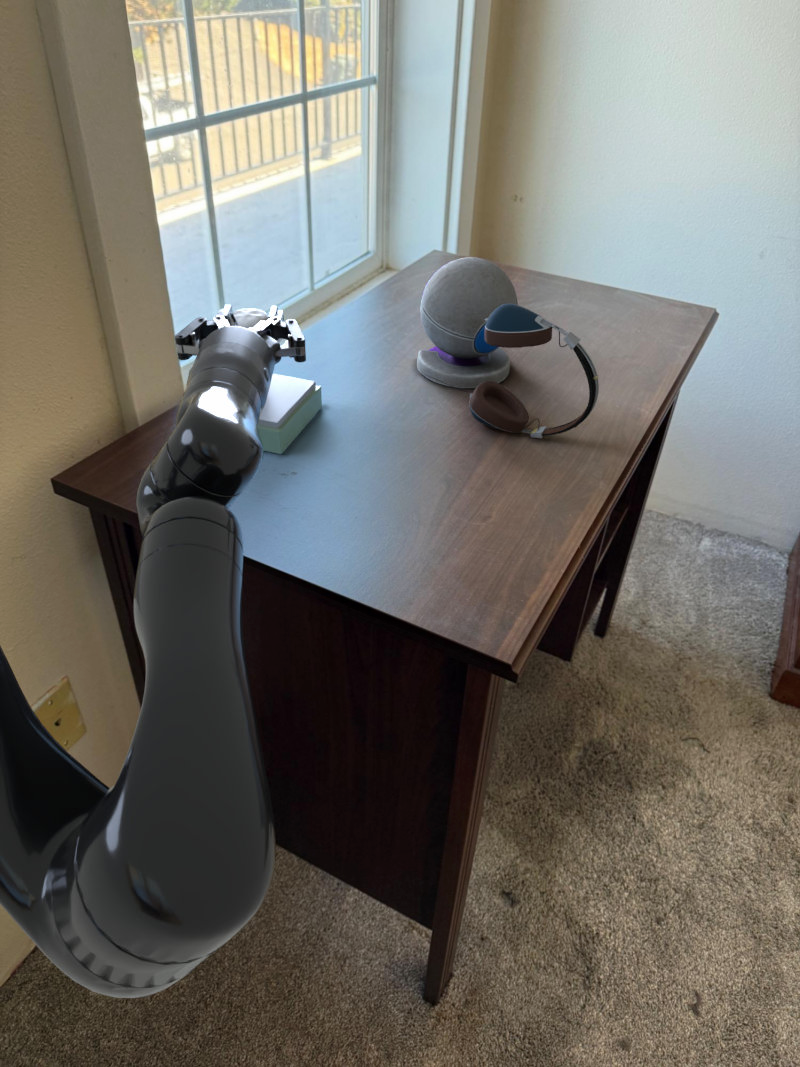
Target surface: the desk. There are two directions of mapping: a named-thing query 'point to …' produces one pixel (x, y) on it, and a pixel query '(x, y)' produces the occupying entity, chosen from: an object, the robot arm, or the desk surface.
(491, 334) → the headphones
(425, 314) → the webcam
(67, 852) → the robot arm
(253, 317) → the milkshake
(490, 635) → the desk surface
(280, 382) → the scale
